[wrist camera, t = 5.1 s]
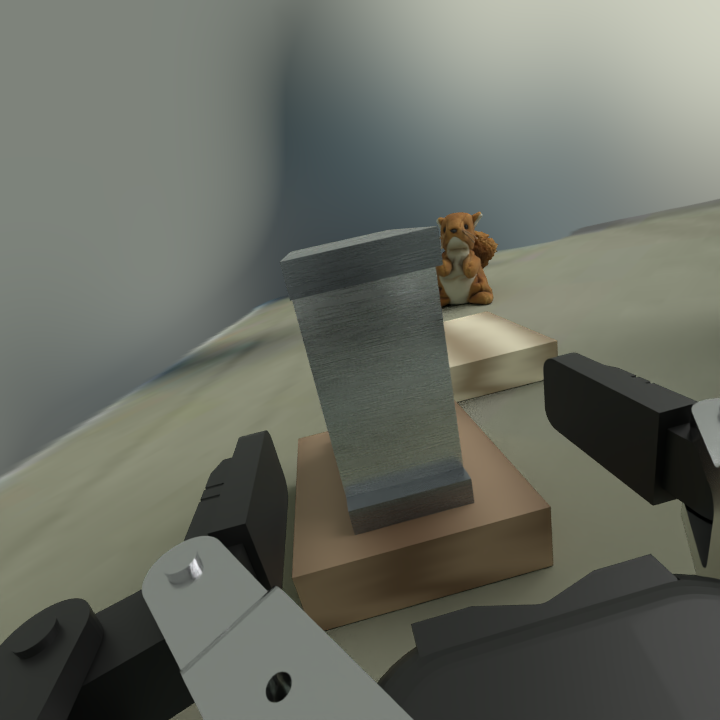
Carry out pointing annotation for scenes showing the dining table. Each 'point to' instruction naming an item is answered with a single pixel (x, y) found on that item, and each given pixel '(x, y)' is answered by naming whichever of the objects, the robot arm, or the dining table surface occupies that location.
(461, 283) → the stuffed squirrel
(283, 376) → the dining table surface
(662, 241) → the dining table surface
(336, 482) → the walnut stand
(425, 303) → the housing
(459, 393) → the cream slab
